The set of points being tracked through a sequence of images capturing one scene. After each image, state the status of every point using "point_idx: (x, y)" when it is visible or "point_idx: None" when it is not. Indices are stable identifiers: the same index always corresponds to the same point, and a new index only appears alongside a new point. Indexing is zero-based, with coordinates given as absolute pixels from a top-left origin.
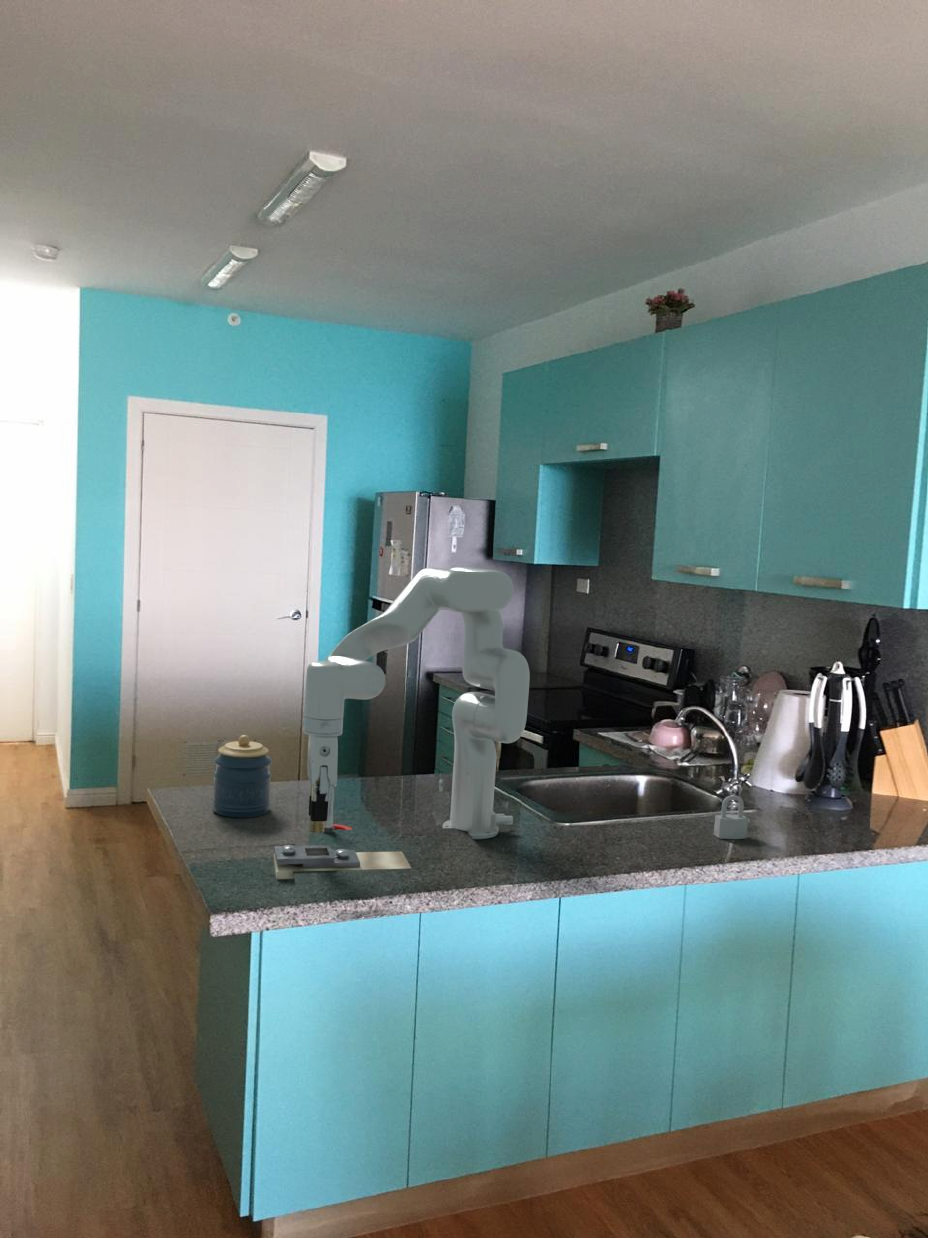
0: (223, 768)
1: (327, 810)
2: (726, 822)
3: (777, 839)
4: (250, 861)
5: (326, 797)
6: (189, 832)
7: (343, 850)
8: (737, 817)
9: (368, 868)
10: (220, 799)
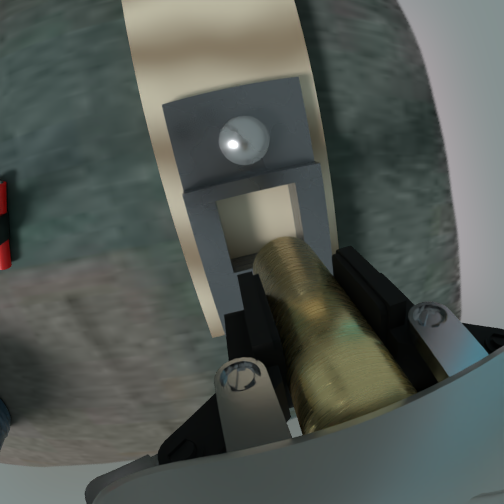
0: None
1: (376, 270)
2: None
3: None
4: (221, 365)
5: (454, 325)
6: (102, 451)
7: (234, 137)
8: None
9: (299, 53)
10: (3, 441)
